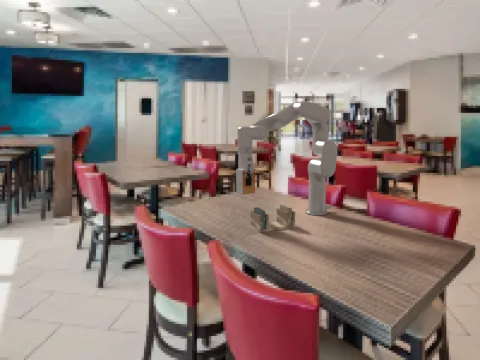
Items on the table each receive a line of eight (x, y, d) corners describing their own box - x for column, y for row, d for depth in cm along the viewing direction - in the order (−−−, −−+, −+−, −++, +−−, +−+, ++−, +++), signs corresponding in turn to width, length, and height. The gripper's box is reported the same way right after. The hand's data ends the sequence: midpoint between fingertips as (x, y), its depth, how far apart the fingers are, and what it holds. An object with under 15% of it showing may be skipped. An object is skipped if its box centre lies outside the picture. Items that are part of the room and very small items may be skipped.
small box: (242, 195, 196) (242, 170, 194) (236, 193, 201) (235, 168, 199) (255, 193, 200) (255, 168, 198) (248, 191, 205) (248, 167, 203)
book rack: (284, 222, 200) (285, 203, 198) (294, 227, 191) (295, 207, 189) (250, 227, 192) (250, 207, 191) (259, 232, 183) (259, 212, 181)
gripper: (259, 151, 190) (259, 186, 193) (244, 148, 206) (245, 181, 209) (245, 152, 187) (246, 187, 190) (232, 149, 203) (232, 182, 206)
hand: (245, 184), depth 200 cm, fingers closed on small box, 6 cm apart
